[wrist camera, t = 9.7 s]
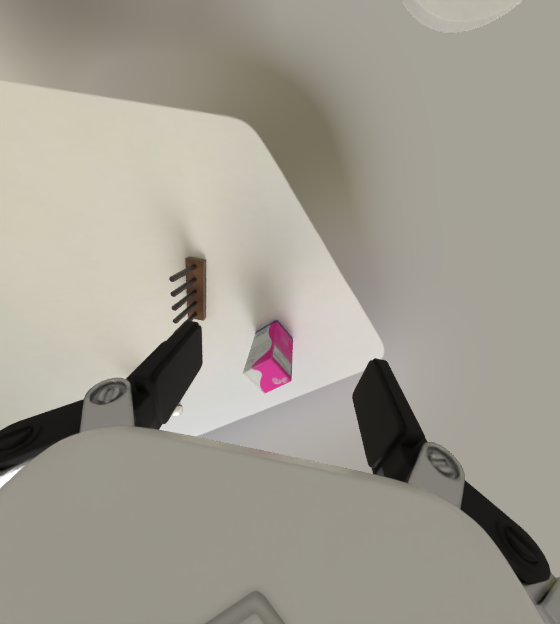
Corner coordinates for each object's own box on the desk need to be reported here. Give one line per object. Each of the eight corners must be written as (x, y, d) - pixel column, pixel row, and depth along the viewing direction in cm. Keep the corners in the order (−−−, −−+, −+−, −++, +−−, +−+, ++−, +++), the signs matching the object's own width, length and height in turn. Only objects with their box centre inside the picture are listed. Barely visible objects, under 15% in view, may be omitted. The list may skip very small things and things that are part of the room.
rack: (188, 256, 36) (160, 269, 29) (206, 260, 36) (182, 273, 29) (190, 314, 42) (167, 337, 34) (205, 317, 42) (185, 341, 34)
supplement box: (272, 351, 44) (263, 395, 34) (255, 332, 42) (240, 372, 32) (294, 340, 42) (292, 382, 32) (277, 319, 40) (269, 357, 30)
